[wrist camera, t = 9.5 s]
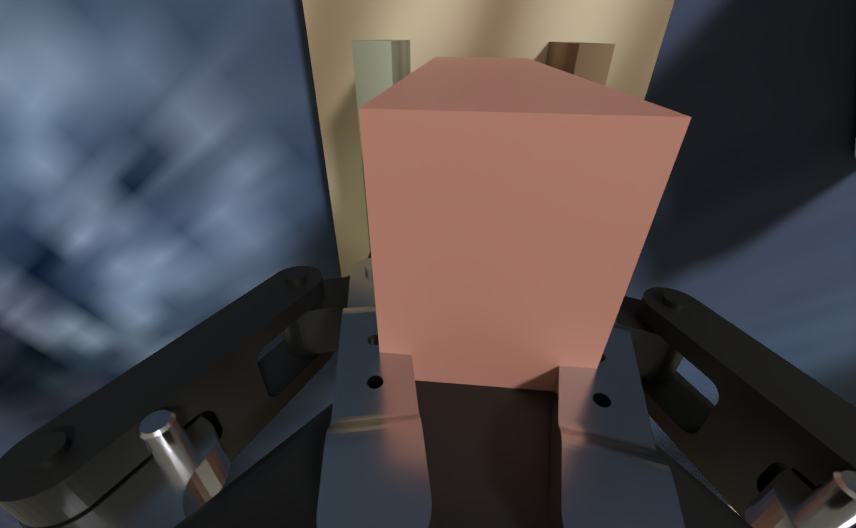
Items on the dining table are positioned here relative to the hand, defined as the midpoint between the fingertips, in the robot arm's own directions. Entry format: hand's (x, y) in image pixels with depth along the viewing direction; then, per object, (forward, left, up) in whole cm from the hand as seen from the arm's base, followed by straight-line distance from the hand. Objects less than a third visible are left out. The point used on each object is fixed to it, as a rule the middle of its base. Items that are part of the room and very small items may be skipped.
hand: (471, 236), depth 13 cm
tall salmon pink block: (0, 0, -4) cm, 4 cm away
